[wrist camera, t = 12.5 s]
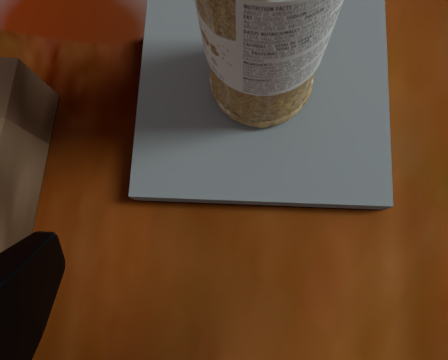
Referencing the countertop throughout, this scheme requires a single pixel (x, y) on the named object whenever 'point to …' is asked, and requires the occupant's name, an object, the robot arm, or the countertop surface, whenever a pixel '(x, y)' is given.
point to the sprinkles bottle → (264, 54)
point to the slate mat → (269, 136)
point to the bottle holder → (22, 146)
